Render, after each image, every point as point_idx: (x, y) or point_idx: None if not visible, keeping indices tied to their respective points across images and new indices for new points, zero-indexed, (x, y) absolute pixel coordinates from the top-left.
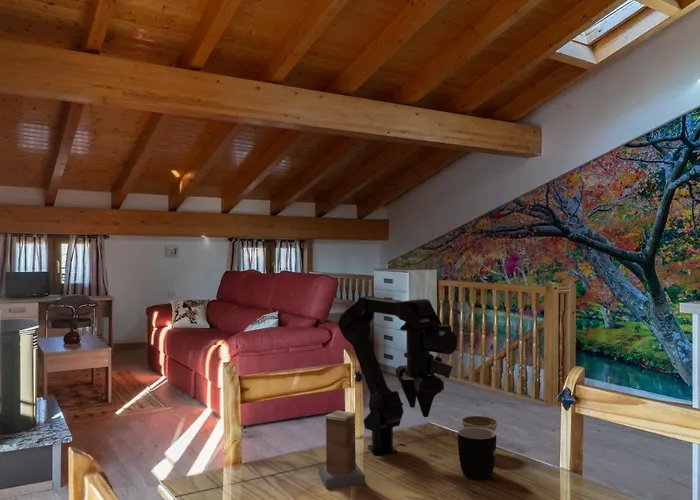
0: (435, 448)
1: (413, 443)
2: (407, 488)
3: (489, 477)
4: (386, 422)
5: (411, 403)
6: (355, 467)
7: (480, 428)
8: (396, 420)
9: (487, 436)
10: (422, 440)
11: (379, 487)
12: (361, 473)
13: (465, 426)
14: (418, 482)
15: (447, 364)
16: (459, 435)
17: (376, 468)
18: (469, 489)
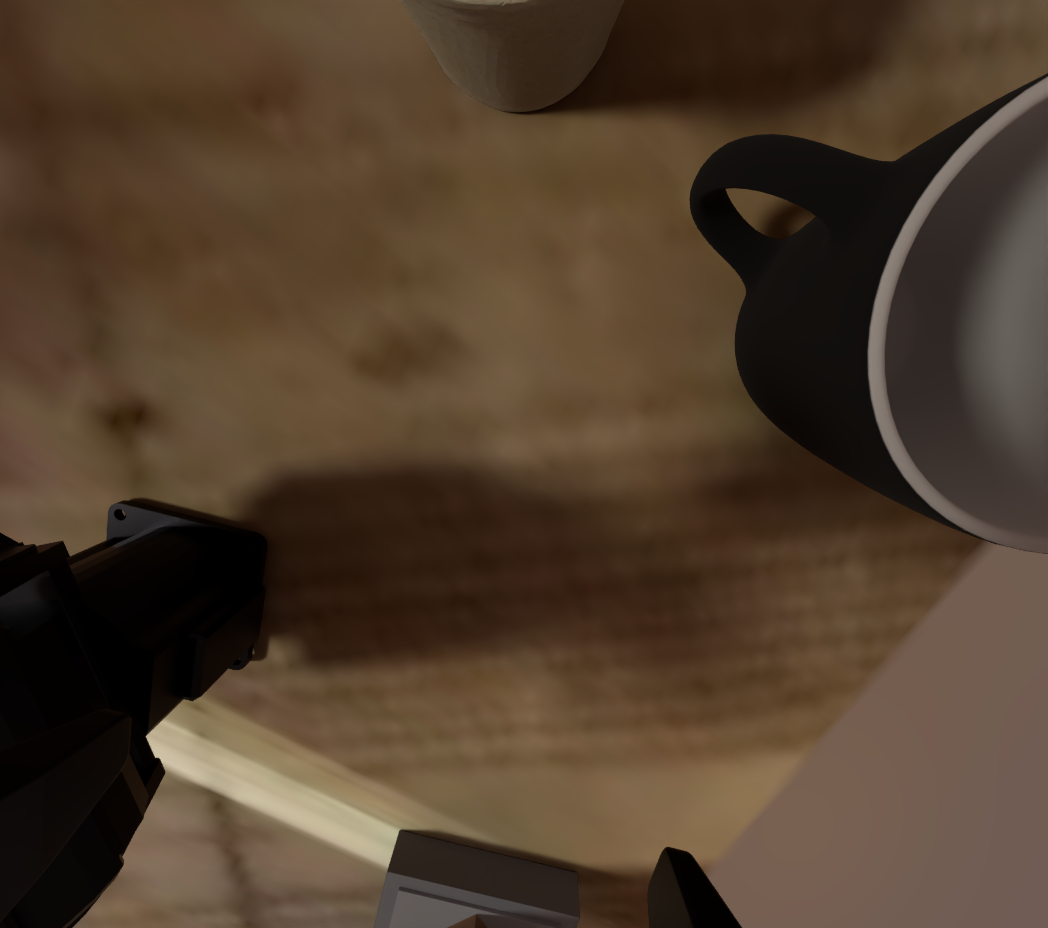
0: (281, 258)
1: (131, 336)
2: (725, 752)
3: (924, 307)
4: (140, 790)
5: (69, 811)
6: (475, 918)
7: (1018, 115)
8: (86, 661)
9: (1038, 107)
10: (92, 236)
11: (640, 841)
12: (546, 916)
13: (475, 11)
14: (697, 673)
15: None
16: (1006, 546)
17: (426, 742)
18: None
